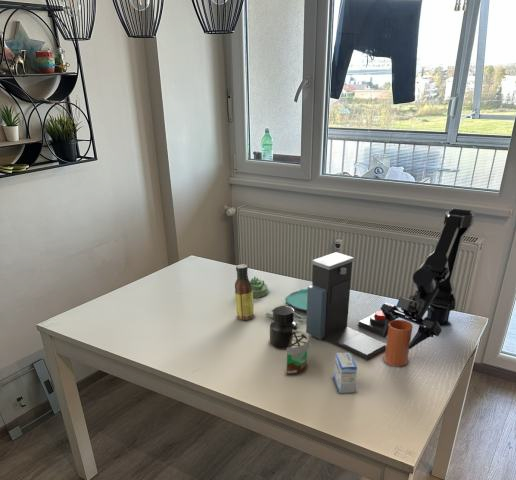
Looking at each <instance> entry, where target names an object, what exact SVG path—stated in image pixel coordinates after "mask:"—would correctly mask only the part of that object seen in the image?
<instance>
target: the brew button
mask: <svg viewBox="0 0 516 480" xmlns="http://www.w3.org/2000/svg"><path fill="white" fill-rule="evenodd" d="M374 313H375V319H378V320H385V315H384V314H383V312H382V310H377V311H375V312H374Z"/></svg>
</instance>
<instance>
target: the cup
mask: <svg viewBox="0 0 516 480" xmlns="http://www.w3.org/2000/svg"><path fill="white" fill-rule="evenodd" d="M413 329H414V327H413V323H412V322H410V321H407V320H404V319H397V320H393V321H390V323H389V326H388V334H387V336H386V341H385V342H386V343H385V344H386V349H385V350H384V358H383V359H384V362H385V363H386V364H388V365H390V366H393V367H403V366H404V367H405V366H406V365H407V363H408V361H409V353H410V349H409V348H408V346H409V344H410V342H411V341H412V340H411V339H412V333H413Z"/></svg>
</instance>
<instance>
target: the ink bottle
mask: <svg viewBox="0 0 516 480" xmlns="http://www.w3.org/2000/svg"><path fill="white" fill-rule="evenodd" d="M272 310H273V312H272V314H273V318H272V322H270V324H269V344H270V345H271V346H272V347H273V348H276V349H280V350H287V348H288V346H289V343H290V339H291V336H292V330H298V324H297V325H296V322H295V319H294V317H295V315H294V313H295V308H293V307H291V306H289V305H288V306H287V305H280V306H276V307H274V308H273V309H272Z"/></svg>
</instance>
